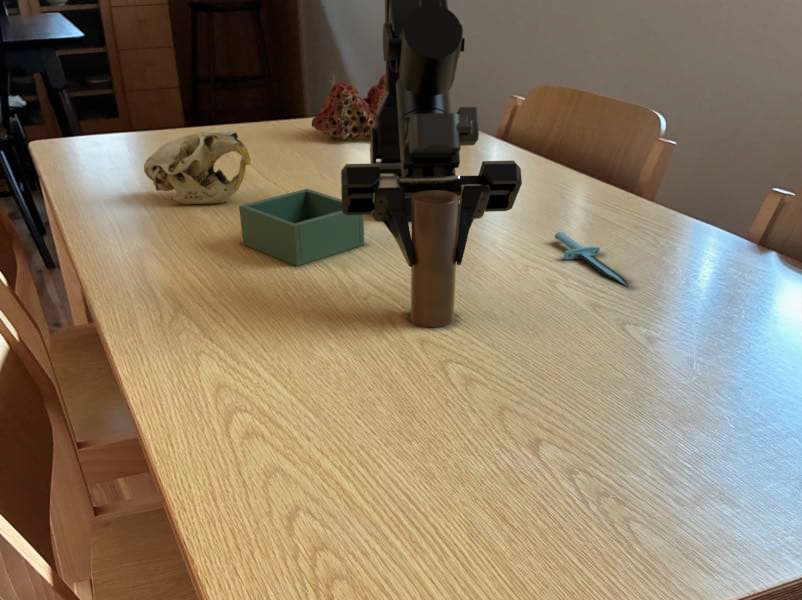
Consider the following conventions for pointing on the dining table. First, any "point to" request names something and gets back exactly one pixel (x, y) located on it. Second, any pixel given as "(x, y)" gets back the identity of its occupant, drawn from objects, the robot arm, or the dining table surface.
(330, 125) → the coral
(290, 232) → the basket
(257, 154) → the dining table surface
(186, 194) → the skull
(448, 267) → the brown cylinder
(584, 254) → the knife
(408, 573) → the dining table surface
